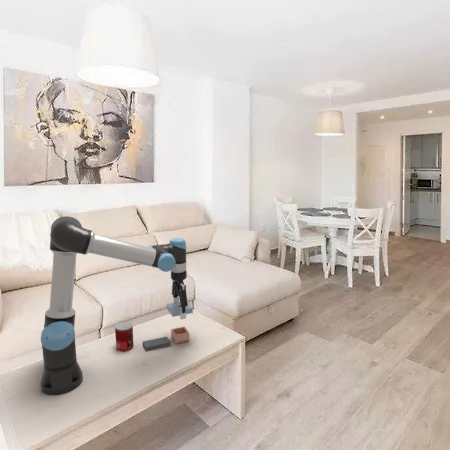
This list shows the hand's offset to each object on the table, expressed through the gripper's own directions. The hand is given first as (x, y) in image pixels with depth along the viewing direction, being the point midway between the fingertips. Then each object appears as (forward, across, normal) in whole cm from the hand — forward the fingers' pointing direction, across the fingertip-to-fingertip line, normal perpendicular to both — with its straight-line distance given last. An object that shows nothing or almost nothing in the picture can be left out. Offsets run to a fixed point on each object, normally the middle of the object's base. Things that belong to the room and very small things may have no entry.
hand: (179, 314), depth 169 cm
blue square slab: (-2, 0, 0) cm, 2 cm away
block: (+13, -1, +12) cm, 18 cm away
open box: (+13, 0, 0) cm, 13 cm away
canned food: (+13, +4, +26) cm, 30 cm away
